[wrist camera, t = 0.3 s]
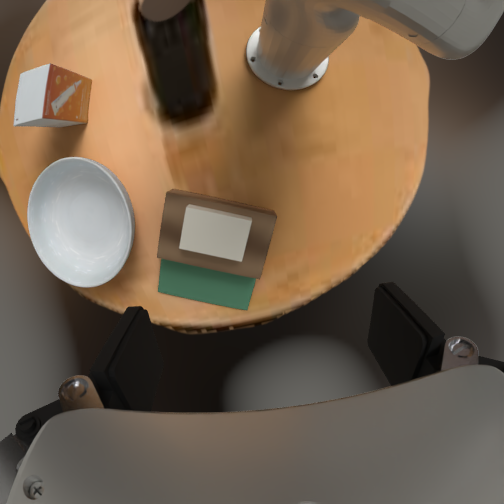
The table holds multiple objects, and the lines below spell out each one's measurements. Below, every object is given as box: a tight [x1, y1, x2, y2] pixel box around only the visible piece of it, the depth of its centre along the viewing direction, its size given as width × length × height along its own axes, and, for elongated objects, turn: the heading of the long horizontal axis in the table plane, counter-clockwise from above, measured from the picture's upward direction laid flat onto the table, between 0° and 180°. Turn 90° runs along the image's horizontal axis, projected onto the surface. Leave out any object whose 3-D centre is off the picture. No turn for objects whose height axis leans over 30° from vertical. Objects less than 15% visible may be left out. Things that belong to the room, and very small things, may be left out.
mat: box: [158, 259, 256, 310], centre depth 47 cm, size 8×16×1 cm, turn 76°
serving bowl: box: [27, 157, 135, 287], centre depth 39 cm, size 21×21×7 cm
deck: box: [157, 189, 277, 279], centre depth 42 cm, size 10×16×4 cm, turn 76°
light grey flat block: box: [179, 204, 252, 262], centre depth 39 cm, size 6×9×2 cm, turn 76°
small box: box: [14, 64, 92, 127], centre depth 29 cm, size 8×6×13 cm
